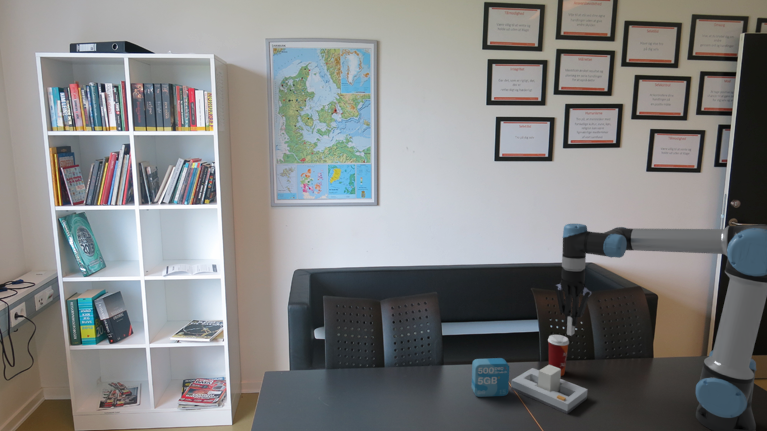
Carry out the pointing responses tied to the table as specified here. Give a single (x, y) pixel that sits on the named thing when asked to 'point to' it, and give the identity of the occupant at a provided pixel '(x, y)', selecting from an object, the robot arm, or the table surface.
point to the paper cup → (558, 351)
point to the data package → (490, 377)
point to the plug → (549, 378)
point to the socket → (559, 400)
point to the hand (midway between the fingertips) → (570, 333)
